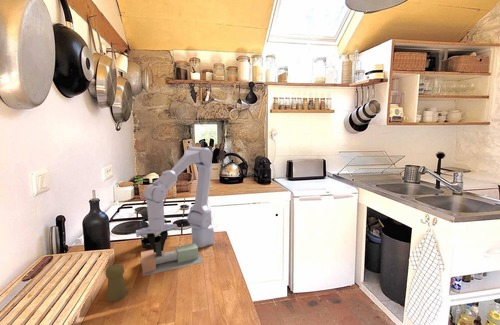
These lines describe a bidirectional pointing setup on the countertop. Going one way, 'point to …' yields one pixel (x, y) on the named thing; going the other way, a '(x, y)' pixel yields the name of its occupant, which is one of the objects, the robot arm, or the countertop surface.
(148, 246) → the french press
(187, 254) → the outer sleeve
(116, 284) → the olive green pepper mill
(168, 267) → the base board
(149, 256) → the socket block
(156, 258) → the sliding bolt
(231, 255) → the countertop surface
